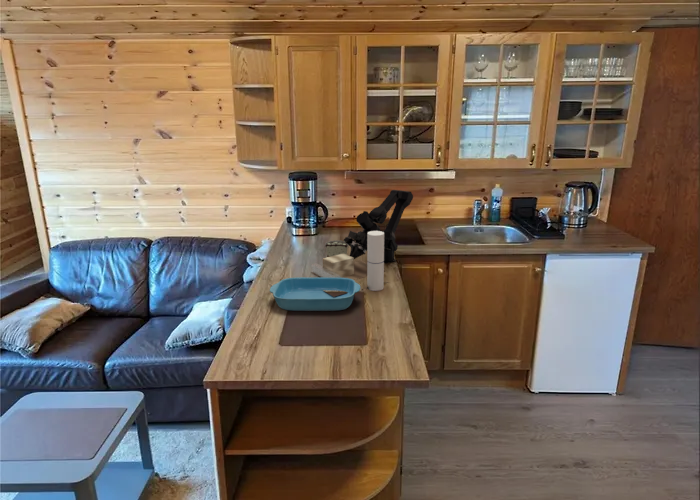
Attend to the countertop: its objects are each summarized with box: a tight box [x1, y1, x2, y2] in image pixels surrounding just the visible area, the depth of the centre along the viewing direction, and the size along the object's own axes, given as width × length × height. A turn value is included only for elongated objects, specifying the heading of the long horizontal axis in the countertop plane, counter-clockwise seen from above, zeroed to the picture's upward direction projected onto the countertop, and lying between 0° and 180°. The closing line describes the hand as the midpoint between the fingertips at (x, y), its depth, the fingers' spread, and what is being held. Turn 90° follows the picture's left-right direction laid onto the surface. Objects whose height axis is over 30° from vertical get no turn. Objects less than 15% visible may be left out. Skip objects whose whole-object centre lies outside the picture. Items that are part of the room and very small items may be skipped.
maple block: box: [322, 254, 355, 278], centre depth 217 cm, size 12×8×8 cm, turn 126°
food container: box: [324, 239, 350, 258], centre depth 240 cm, size 12×6×10 cm, turn 84°
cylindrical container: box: [366, 230, 385, 292], centre depth 203 cm, size 7×7×25 cm
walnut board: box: [311, 259, 386, 281], centre depth 222 cm, size 29×20×2 cm
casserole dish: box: [269, 276, 362, 312], centre depth 192 cm, size 37×22×7 cm, turn 88°
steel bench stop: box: [311, 262, 340, 278], centre depth 214 cm, size 2×20×4 cm, turn 36°
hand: (349, 260), depth 220 cm, fingers closed, pressing on maple block
